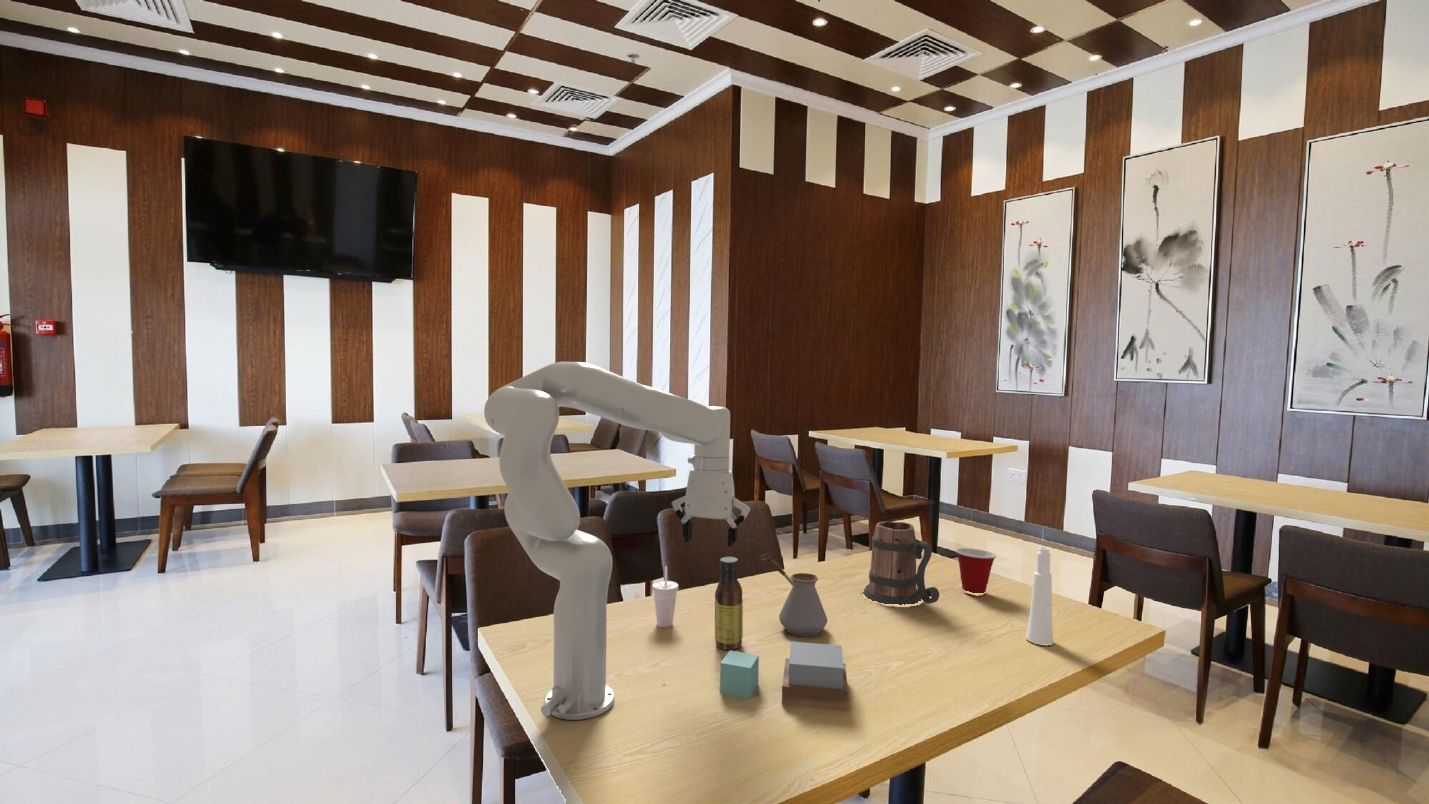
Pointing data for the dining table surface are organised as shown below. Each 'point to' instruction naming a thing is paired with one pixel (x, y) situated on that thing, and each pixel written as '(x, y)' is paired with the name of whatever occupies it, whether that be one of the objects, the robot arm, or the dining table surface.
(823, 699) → the bottom block
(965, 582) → the plastic cup
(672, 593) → the smoothie
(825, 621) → the coffee pot
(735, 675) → the teal cube
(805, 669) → the top block
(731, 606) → the sauce bottle
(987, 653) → the dining table surface
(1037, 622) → the cosmetic bottle
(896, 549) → the tankard
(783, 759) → the dining table surface
